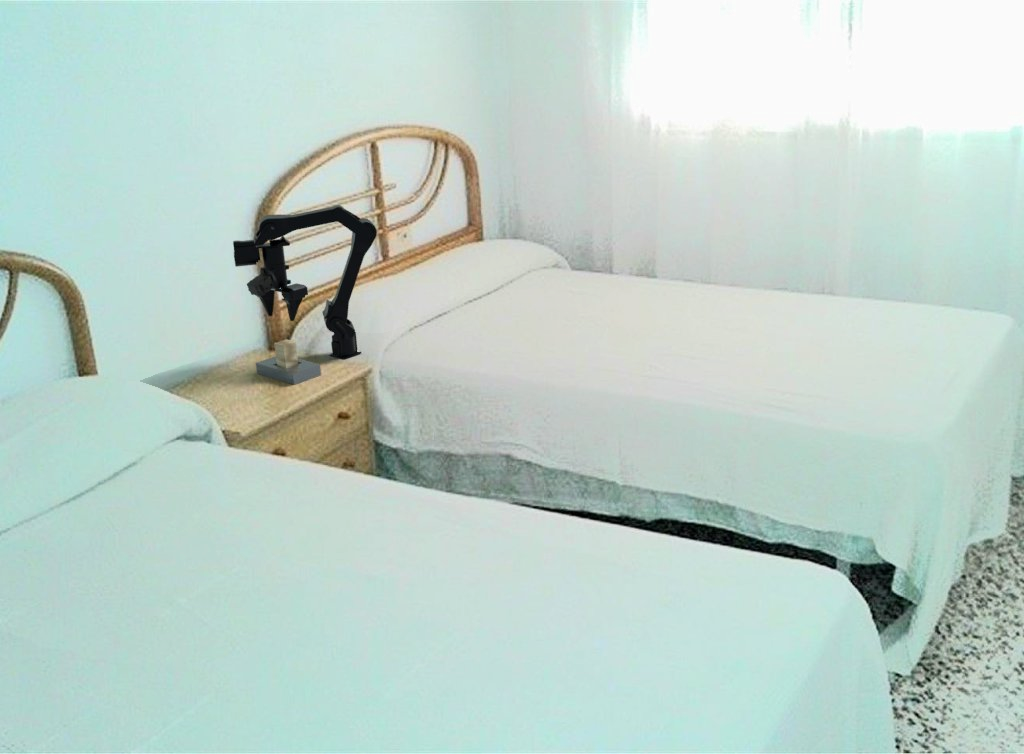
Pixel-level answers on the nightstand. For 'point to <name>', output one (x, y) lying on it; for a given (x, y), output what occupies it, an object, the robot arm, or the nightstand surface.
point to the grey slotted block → (288, 370)
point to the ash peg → (286, 353)
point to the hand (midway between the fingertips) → (281, 318)
